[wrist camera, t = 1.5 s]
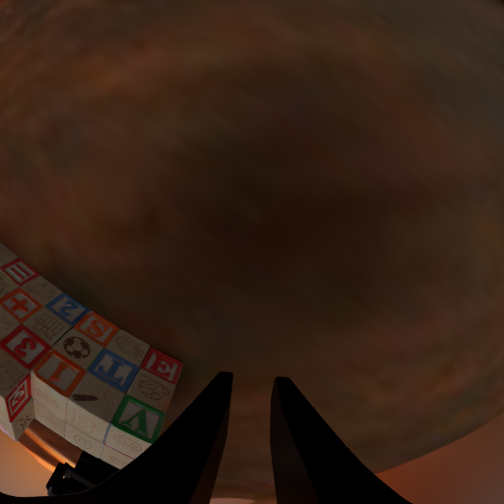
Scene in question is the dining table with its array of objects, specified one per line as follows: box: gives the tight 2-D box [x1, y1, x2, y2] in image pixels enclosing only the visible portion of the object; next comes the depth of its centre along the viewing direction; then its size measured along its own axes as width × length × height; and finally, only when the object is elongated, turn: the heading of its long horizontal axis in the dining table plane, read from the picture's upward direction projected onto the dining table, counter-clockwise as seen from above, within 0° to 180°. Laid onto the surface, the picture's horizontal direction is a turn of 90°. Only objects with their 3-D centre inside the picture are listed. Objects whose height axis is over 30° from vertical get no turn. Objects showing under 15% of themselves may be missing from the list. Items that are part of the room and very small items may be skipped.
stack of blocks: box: [0, 243, 183, 469], centre depth 16 cm, size 21×6×12 cm, turn 61°
